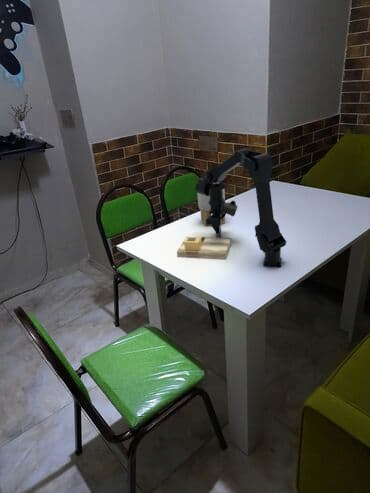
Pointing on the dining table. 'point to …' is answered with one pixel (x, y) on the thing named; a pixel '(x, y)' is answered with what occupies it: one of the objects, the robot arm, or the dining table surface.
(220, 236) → the peg
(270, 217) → the robot arm
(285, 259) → the dining table surface
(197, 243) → the block
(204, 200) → the planter
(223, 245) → the subfloor board
